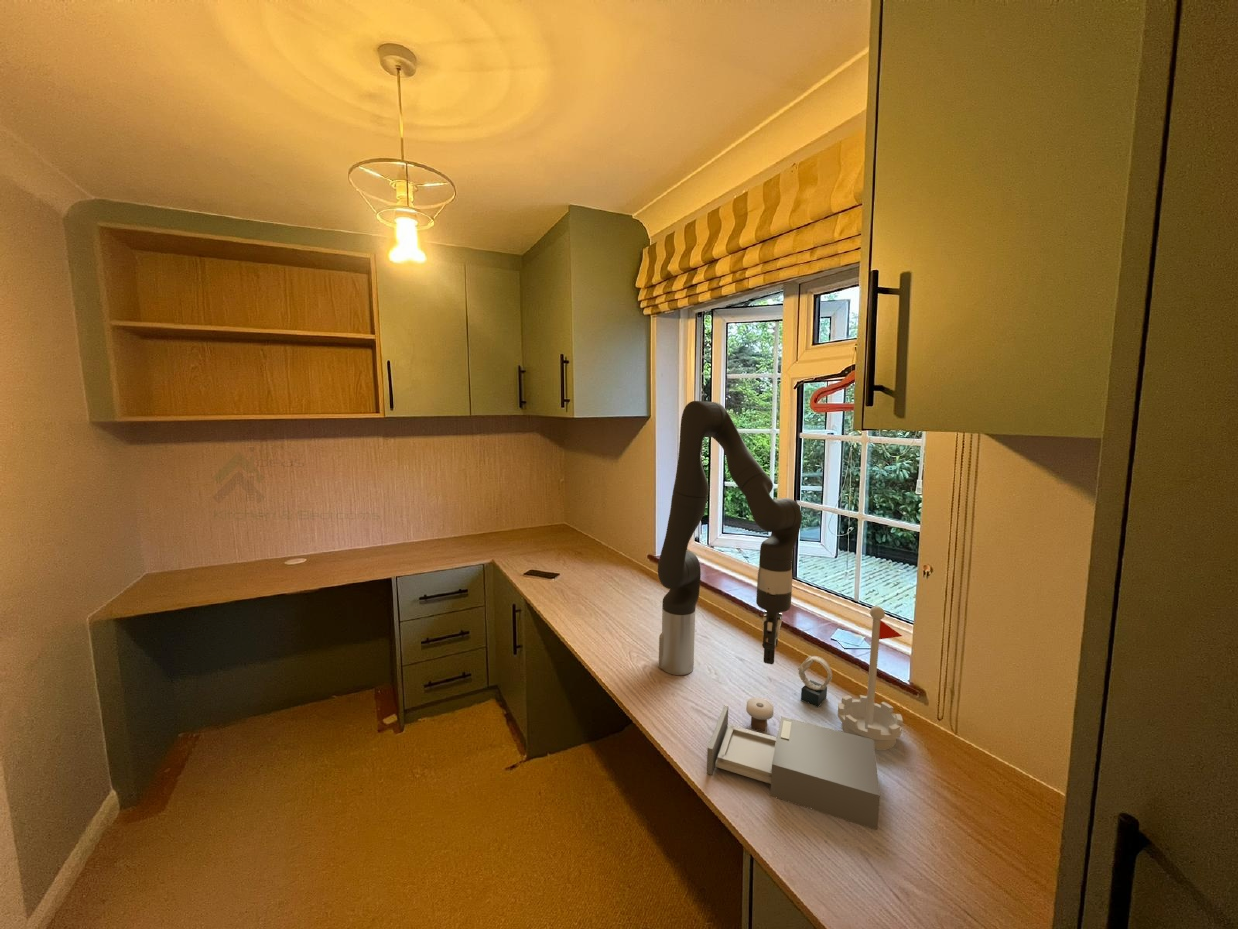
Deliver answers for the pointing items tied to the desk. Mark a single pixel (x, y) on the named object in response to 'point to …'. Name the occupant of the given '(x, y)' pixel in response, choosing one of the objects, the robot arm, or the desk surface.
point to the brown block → (758, 724)
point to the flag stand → (872, 698)
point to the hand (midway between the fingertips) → (770, 654)
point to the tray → (740, 750)
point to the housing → (826, 771)
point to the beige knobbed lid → (759, 708)
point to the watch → (814, 690)
